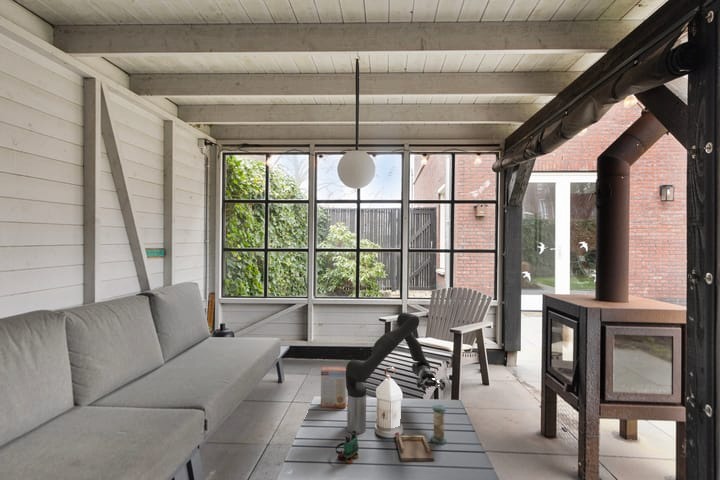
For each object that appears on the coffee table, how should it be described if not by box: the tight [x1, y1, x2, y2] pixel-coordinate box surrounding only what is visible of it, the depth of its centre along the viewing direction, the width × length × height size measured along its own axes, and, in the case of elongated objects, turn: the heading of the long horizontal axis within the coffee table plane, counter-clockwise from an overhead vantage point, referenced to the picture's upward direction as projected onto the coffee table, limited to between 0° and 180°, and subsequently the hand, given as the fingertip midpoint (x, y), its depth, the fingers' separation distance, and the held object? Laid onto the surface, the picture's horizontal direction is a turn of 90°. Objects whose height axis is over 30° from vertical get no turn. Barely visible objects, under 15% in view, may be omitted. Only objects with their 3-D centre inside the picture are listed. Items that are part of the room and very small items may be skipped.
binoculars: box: [335, 431, 360, 464], centre depth 167 cm, size 9×11×10 cm
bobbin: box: [430, 404, 447, 445], centre depth 182 cm, size 7×7×15 cm
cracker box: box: [320, 366, 348, 409], centre depth 219 cm, size 14×6×21 cm, turn 84°
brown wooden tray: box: [395, 434, 435, 462], centre depth 175 cm, size 14×20×3 cm
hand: (433, 388), depth 195 cm, fingers open, 8 cm apart
